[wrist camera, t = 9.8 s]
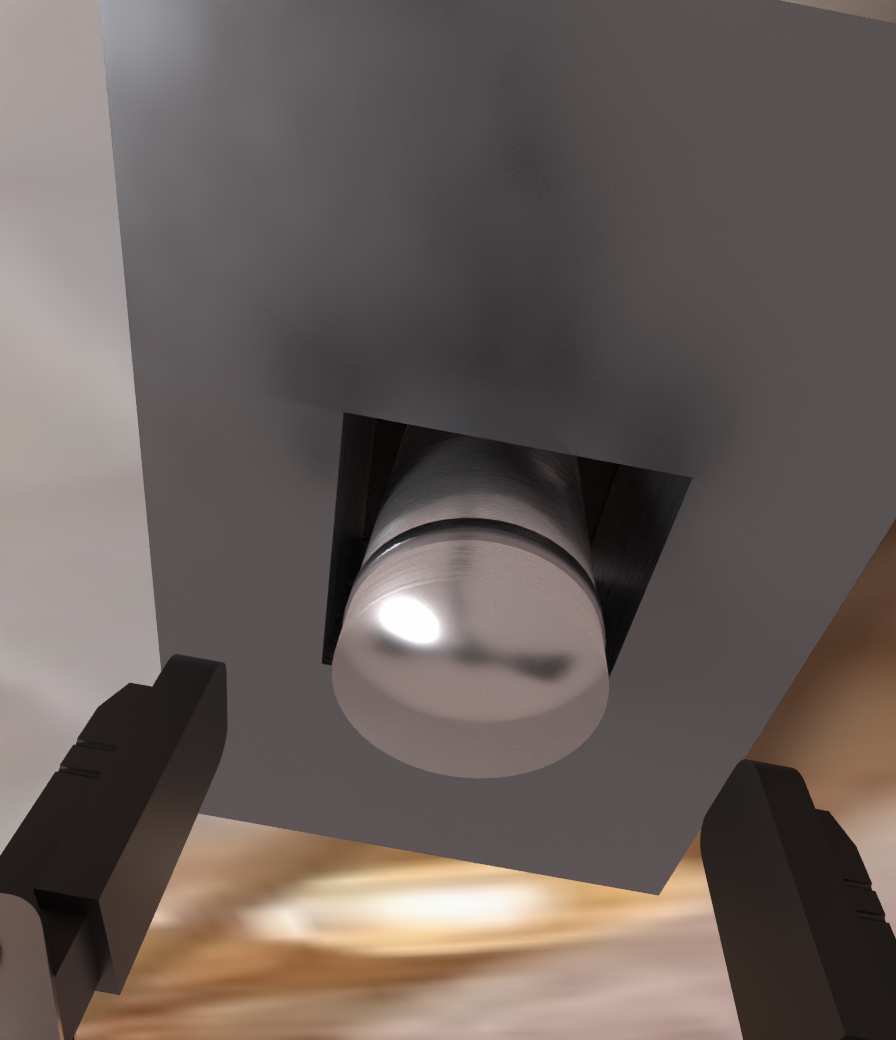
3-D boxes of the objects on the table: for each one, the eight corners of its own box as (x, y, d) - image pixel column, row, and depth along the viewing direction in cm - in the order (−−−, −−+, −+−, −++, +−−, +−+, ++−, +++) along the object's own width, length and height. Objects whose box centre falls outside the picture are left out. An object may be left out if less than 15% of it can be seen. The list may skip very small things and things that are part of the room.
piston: (410, 361, 17) (340, 553, 10) (601, 398, 17) (652, 611, 11) (387, 521, 20) (320, 754, 13) (553, 551, 20) (569, 799, 13)
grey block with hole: (227, -73, 13) (85, -139, 9) (964, 74, 13) (1172, 79, 9) (234, 679, 24) (174, 809, 20) (635, 751, 24) (658, 895, 20)
